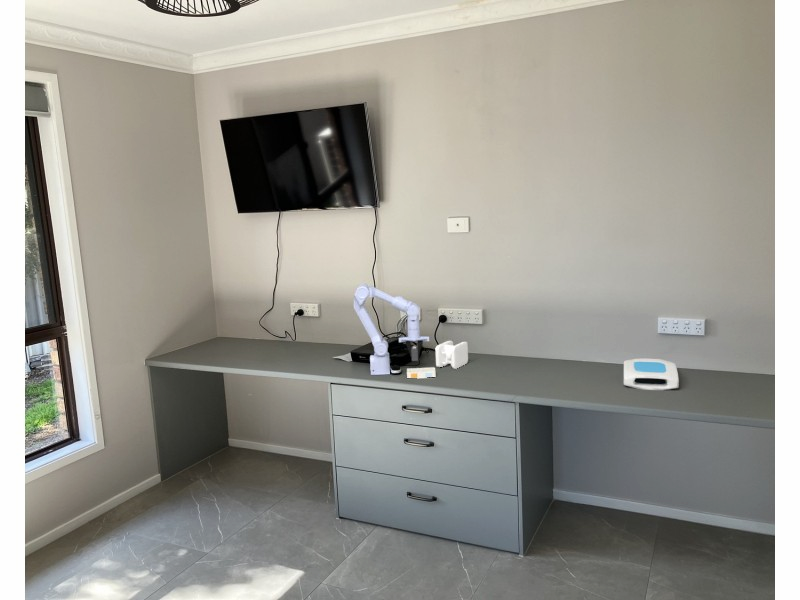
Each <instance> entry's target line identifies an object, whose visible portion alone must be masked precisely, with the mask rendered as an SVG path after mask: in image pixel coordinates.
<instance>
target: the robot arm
mask: <svg viewBox="0 0 800 600" xmlns="http://www.w3.org/2000/svg"><path fill="white" fill-rule="evenodd" d="M368 297H369V298H378V299H380V300H382V301H385V302H388V303H390V304H391V306H392V308H394V309H396V310H398V311H401V312H403V313H406V314H407V322H406V323H407V336H403V337H398V343H405V345H406V348H407V349H408V353H409V357H411V358H412V353H411V347H412V342H417V347H418V357H420V352H421V349H422V346H423V344H424V342H430V336H421V333H420V332H421V330H420V315H419V314H420V308H419V305H418V304H417V303H416V302H413V301H412V300H406V299H405V298H404V297H403V296H402V295H400V296H397V295H396V296H392V295H390V294H389V293H386V292H384V291H383V290H380V289H378V288H377V287H374V286H372V285H368V284H366V283H361V284H359V285H358V287H357V289H356V290H355V292H354V294H353V310H354V311H355V313H356V314H357V317H358V318H359V320H360V322H361V323H362V325H363V327H364V329H365V331H366V333H367V335H368V337H369V338H370V341H371V343H372V346H373V351H374V353H373V354H371V355H370V356H369V362H370V364H369V365H370V367H369V369H370V370H369V371H370V376H378V375H379V376H381V375H383V376H384V375H391V374H390V369H391V367H390V366H391V365H390V353H389V352H388V348H389V343H388V341H387V340H386V339H384V338H383V336H382V335H381V333H380V332H379V330H378V328H377V326H376V325H375V323H374V321H373V319H372V317H371V315H370V314H369V312H368V311H367V308H366V307H365V304H366V303H365V302H366V301H367V299H368Z"/></svg>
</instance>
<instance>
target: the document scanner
mask: <svg viewBox="0 0 800 600" xmlns="http://www.w3.org/2000/svg"><path fill="white" fill-rule="evenodd" d="M636 379H659V380H664V381H665V383H641V382H636V381H635V380H636ZM679 379H680V378H679V373H678V369H677V365H676V363H675V362H672V361H669V360H666V359H665V360H664V359H662V358H643V357H641V358H632V359H628V360H627V359H626V360H624V361H623V386H627V387H630V388H633V389H637V390H646V391H647V390H649V391H650V390H651V391H666V390H673V389H678V388H679V387H680V386H679V385H680V384H679V383H680V381H679Z"/></svg>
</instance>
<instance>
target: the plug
mask: <svg viewBox="0 0 800 600" xmlns="http://www.w3.org/2000/svg"><path fill="white" fill-rule="evenodd" d="M411 353H412V357H411V361H412V362H419V356H418V346H416V345H415V346H414V345H413V346H411Z"/></svg>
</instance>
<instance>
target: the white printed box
mask: <svg viewBox="0 0 800 600" xmlns="http://www.w3.org/2000/svg"><path fill="white" fill-rule="evenodd" d="M436 374H437V373H436V367H416V368H415V367H414V368H409V367H408V368H406V378H417V379H428V378H427V377H437V375H436Z"/></svg>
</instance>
